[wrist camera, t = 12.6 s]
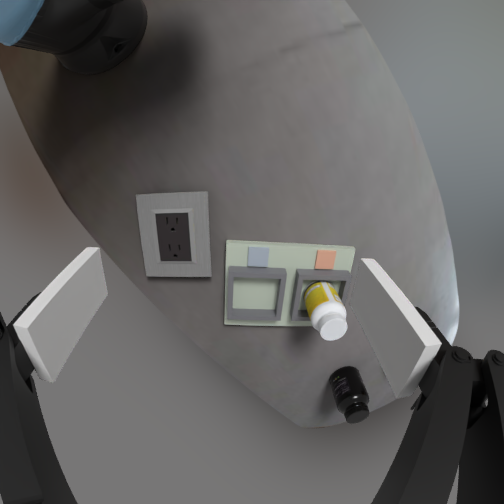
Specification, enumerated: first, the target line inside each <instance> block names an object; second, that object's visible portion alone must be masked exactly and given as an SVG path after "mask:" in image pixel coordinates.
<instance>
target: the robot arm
mask: <svg viewBox="0 0 504 504" xmlns="http://www.w3.org/2000/svg"><path fill="white" fill-rule="evenodd" d="M146 24H147V10H146V7H145V5H144V3H143V1H142V0H0V42H1V43H3V44H4V45H6V46H16V47H22V48H27V49H32V50H37V51H42V52H46V53H51V54H54V55H55V56H56V57H57V58H58V60H59V61H60V63H61V64H62V65H63V66H64V67H65V68H67V69H68V70H70V71H73V72H76V73H80V74H87V75H90V74H97V73H101V72H104V71H106V70H109V69H111V68H113V67H114V66H116V65H117V64H119V63H120V62H122V61H123V60H124V59H125V58H126V57H127V56H128V55H129V54H130V53H131V52H132V51H133V50H134V49H135V47H136V46H137V45H138V43H139V42H140V40H141V38H142V36H143V34H144V31H145V28H146ZM107 295H108V292H107V287H106V282H105V277H104V271H103V266H102V260H101V254H100V248H97V247H87V248H86V249H85V250H84V251H82V252H81V253H80V254H79V255H78V256H77V257H76V258H75V259H74V260H73V261H72V262H71V263H70V264H69V265H68V266H67V267H66V268H65V269H64V270H63V271H62V272H61V273H60V274H59V275H58V276H57V277H56V278H55V279H54V280H53V281H52V282H51V283H50V284H49V285H48V286H47V287H46V288H45V290H44V291H43V292H40V293H39V294H37V295H36V296H34V297H33V298H32V299H31V300H30V301H29V302H28V303H27V305H25V306H24V307H23V309H22V311H20V312H19V313H18V314H17V315H16V316H15V318H14V319H13V320H12V321H11V322H10V323H9V325H8V326H6V324H5V322H4V320H3V317H2V315H1V312H0V494H1V497H2V500H3V504H77V502H76V500H75V498H74V496H73V494H72V492H71V490H70V488H69V486H68V483H67V481H66V479H65V476H64V474H63V472H62V469H61V467H60V465H59V462H58V460H57V457H56V455H55V452H54V449H53V446H52V444H51V441H50V438H49V435H48V432H47V428H46V425H45V422H44V419H43V415H42V412H41V408H40V404H39V400H38V396H37V392H36V388H35V384H34V380H33V378H32V376H31V373H32V371H33V370H34V369H35V371H36V373H37V374H38V376H39V378H40V379H42V380H45V381H48V382H51V383H54V382H55V380H56V379H57V377H58V375H59V373H60V371H61V370H62V368H63V366H64V364H65V362H66V361H67V359H68V357H69V355H70V354H71V352H72V350H73V349H74V347H75V345H76V343H77V342H78V340H79V339H80V337H81V335H82V334H83V332H84V330H85V329H86V327H87V326H88V324H89V322H90V321H91V319H92V318H93V316H94V314H95V313H96V311H97V310H98V308H99V307H100V305H101V304H102V302H103V301H104V299H105V298H106V296H107ZM350 306H351V308H352V310H353V312H354V314H355V316H356V318H357V319H358V321H359V323H360V325H361V327H362V329H363V331H364V333H365V335H366V337H367V339H368V341H369V343H370V345H371V347H372V349H373V351H374V353H375V355H376V357H377V359H378V361H379V363H380V365H381V367H382V369H383V371H384V373H385V375H386V377H387V379H388V382H389V384H390V386H391V388H392V390H393V392H394V394H395V397H396V399H397V398H402V397H407V396H411V395H412V394H413V393H414V391H415V390H416V388H417V387H418V385H419V387H420V389H421V391H422V392H421V394H420V396H419V397H418V399H417V400H416V401H415V403H414V404H413V406H412V407H411V410H413V409H414V407H415V409H414V412H413V414H412V417H411V420H410V423H409V425H408V428H407V430H406V433H405V436H404V438H403V440H402V443H401V445H400V448H399V450H398V452H397V454H396V457H395V459H394V461H393V463H392V465H391V467H390V469H389V471H388V473H387V476H386V477H385V479H384V482H383V483H382V485H381V487H380V489H379V491H378V493H377V494H376V496H375V498H374V500H373V502H372V503H371V504H447V501H448V498H449V495H450V492H451V489H452V486H453V482H454V479H455V476H456V472H457V468H458V465H459V479H458V493H457V503H456V504H504V354H503V353H501V352H500V351H497V350H490V351H488V353H487V354H486V356H485V358H484V359H473V357H472V356H471V354H470V353H469V352H468V351H467V350H465V349H463V348H461V347H457V346H451V345H450V344H449V342H448V341H447V340H446V338H445V337H444V336H443V334H442V333H441V332H440V330H439V329H438V328H436V325H435V324H434V323H433V322H432V320H431V319H430V318H429V316H428V315H427V314H426V313H425V312H424V311H422V310H421V309H420V308H418V307H414V306H413V305H412V304H411V303H410V301H409V300H408V299H407V298H406V296H405V295H404V294H403V293H402V291H401V290H400V289H399V288H398V287H397V285H396V284H395V283H394V282H393V281H392V279H391V278H390V277H389V276H388V275H387V273H386V272H385V271H384V270H383V269H382V268H381V266H380V265H379V264H378V263H377V262H376V261H375V260H374V259H362V258H361V260H360V264H359V269H358V273H357V277H356V281H355V285H354V289H353V293H352V296H351V300H350ZM487 399H488V405H487V407H486V405H485V401H486V400H487Z"/></svg>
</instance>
